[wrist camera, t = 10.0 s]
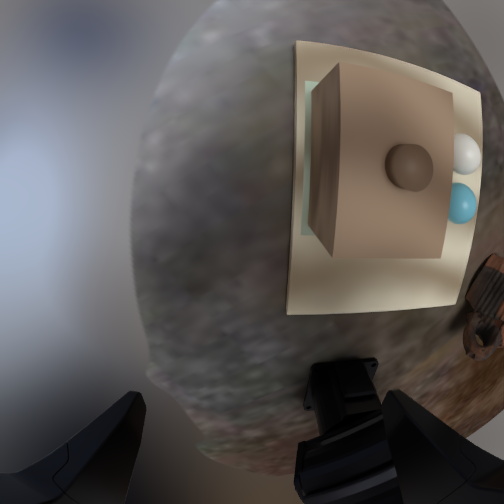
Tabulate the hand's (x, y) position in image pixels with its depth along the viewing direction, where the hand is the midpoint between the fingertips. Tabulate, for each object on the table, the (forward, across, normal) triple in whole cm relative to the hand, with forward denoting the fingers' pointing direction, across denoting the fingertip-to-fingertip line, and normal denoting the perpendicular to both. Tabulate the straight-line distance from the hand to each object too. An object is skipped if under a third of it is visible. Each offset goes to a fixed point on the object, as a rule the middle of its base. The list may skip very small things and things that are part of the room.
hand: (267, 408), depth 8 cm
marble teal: (+11, -14, -6) cm, 19 cm away
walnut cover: (+11, -6, -8) cm, 15 cm away
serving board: (+12, -10, -6) cm, 17 cm away
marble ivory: (+11, -14, -10) cm, 20 cm away
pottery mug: (+12, -24, +4) cm, 27 cm away
